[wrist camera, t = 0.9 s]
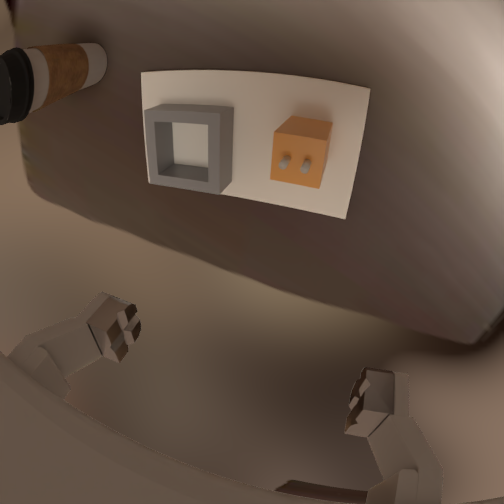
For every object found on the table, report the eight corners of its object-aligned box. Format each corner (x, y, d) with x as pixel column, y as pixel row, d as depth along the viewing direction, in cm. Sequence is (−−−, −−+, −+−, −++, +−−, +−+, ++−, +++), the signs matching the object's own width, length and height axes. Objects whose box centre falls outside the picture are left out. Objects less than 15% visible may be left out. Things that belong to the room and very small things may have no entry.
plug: (291, 115, 27) (268, 137, 21) (332, 122, 27) (324, 146, 20) (287, 153, 30) (264, 187, 23) (327, 161, 29) (316, 197, 22)
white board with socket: (146, 71, 29) (121, 76, 26) (369, 88, 24) (372, 92, 21) (153, 179, 38) (132, 194, 34) (345, 214, 33) (343, 236, 29)
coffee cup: (105, 101, 33) (11, 141, 21) (66, 83, 32) (-22, 117, 21) (122, 41, 27) (17, 60, 16) (79, 29, 27) (-17, 48, 16)
